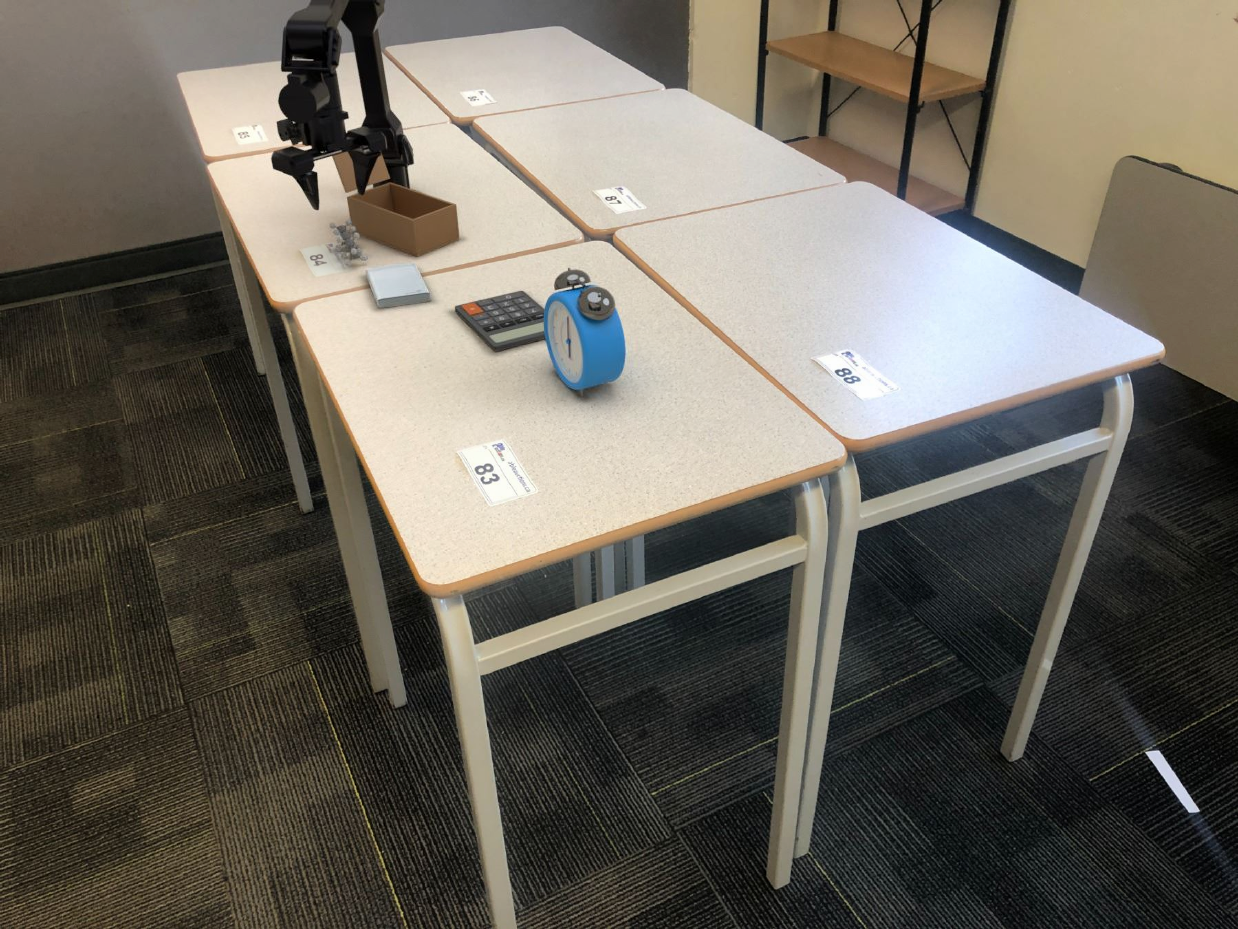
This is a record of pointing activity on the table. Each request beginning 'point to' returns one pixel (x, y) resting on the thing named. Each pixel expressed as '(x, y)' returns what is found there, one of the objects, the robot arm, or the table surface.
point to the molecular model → (348, 242)
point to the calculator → (505, 319)
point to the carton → (404, 218)
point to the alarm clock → (583, 332)
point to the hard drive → (397, 285)
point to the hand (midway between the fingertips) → (339, 201)
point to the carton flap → (347, 171)
